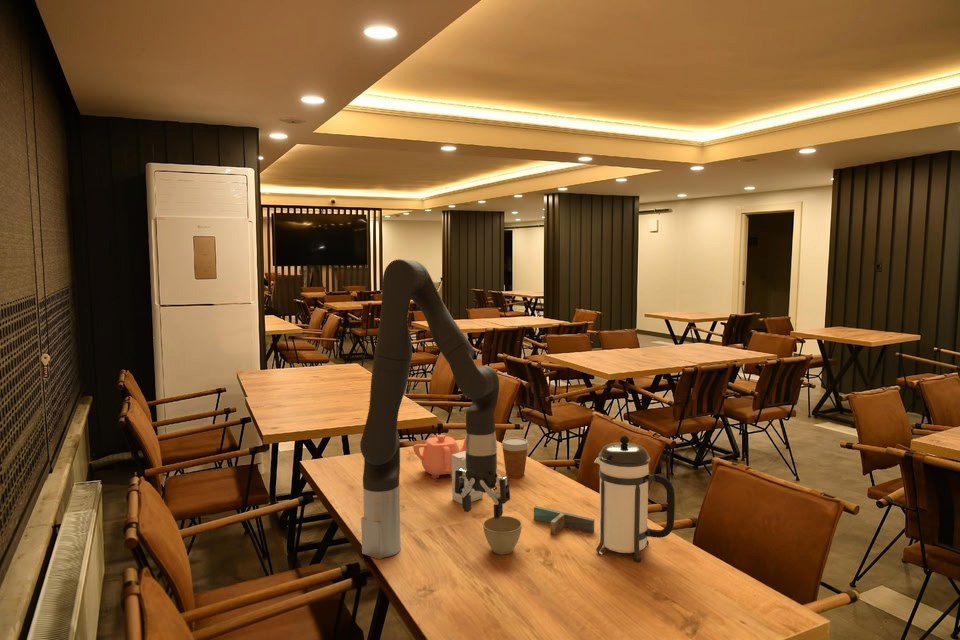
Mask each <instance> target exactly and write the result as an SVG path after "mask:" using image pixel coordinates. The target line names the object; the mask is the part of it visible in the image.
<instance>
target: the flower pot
mask: <svg viewBox="0 0 960 640" xmlns="http://www.w3.org/2000/svg"><path fill="white" fill-rule="evenodd" d="M522 527H523V523H522V521H521V520H520V519H518V518H516V517H514V516H511V515H502V516H501V517H500V518H499V519H494V516H492V517H488V518H487V519H485V520H484V521H483V522H482V528H483V532H484V536H485V539H486V542H487V544H488V546H489V547H490V549H491V550H492V551H493V553H495V554H498V555H509V554H511V553H513V550H514V549H515V548H516V546H517V544H518V542H519V539H520V536H521V533H522Z"/></svg>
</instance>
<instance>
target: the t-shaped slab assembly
mask: <svg viewBox="0 0 960 640" xmlns="http://www.w3.org/2000/svg"><path fill="white" fill-rule="evenodd" d="M533 520H537V521H540V522H544V523H549V524H550V527H549V528H550V532H549V533H550V535H553V536H555V535H556V534H557V533H559V531H561V530H562V529H564V527H566V528H570V529H574V530H578V531H583V532H586V533H591V534H593V533H594V532H595V518H589V517H586V516H582V515H577V514H573V513H568V512H564V511H559V510H555V509H551V508H547V507H542V506H537V505H535V506H534V507H533Z"/></svg>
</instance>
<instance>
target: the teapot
mask: <svg viewBox="0 0 960 640" xmlns="http://www.w3.org/2000/svg"><path fill="white" fill-rule="evenodd" d="M465 439H466V437H465V438H464V440H463V443H462V446H461V447H459V445H458V443H457V441H456V440H455V439H454V438H453V437H451V436H447V435H445V434H438V435H436V434H432V435H431V437H428V438H427V439H426V442H425V443H416V444H414V445H413V447H412V449H413V452H414V454H415V455H416V456H417V457H418V459H420V461H421V465H422V467H423V469H424V470H425V472H427V473H428V474H430V478H432V479H438V478H439V477H440V475H449V476H450V477H452V457H451V455H453V454H456V453H460V452H463V451H465ZM420 448H423V449H422V454H421V451H420Z"/></svg>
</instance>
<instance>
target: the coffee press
mask: <svg viewBox="0 0 960 640" xmlns="http://www.w3.org/2000/svg"><path fill="white" fill-rule="evenodd" d="M650 462H651V456H650V454H649V453H648V450H646V448H645V447H643V446H641V445H639V444H637V443H632V442H630V438H629V437H628V436H627V435H622V436H620V438H619V441H617V442H610V443H608V444H606V445H604V446H602V449H601V450H600V451H599V453H598V457H596V459H595V460H594V461H593V463H594V464H598V465H599V468H598V477H599V521H598V522H599V525H598V526H599V527H598V528H599V533H598V534H599V535H598V536H599V537H598V538H599V544H598V546H597V547H596V550H595V551H596V553H598V554H599V555H600V556H601V555H604V553H605V552H606V551H608V550H610V551H613V552H617V553H620V554H621V553H622V554H630V555H632V558H633V560H634V562H641V561H642V555H641V552H640V551H642V550H643V549H644V548H645V547H648V545H649V544H650V541H649V540H648V537H650V538H659V539H660V538H665V537H667V536H669V535H670V534H671V533H672V530H673V528H674V525H675V511H676V510H675V508H676V507H675V506H676V505H675V504H676V502H675V501H676V500H675V499H676V495H675V489H674V486H673V484H672V482H671V481H670V479H669V478H667V477H666V476H664V475H662V474H658V473H656V474H653V473H650V470H649V464H650ZM649 481H652V482H653V481H654V482H655V483H659V484H661V485H663V487H664V489H665V492H666V496H667V497H666V525H665V527H663V529H654V528H653V529H652V528H649V525H648V512H649V507H648V506H649V504H648V503H649Z"/></svg>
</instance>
